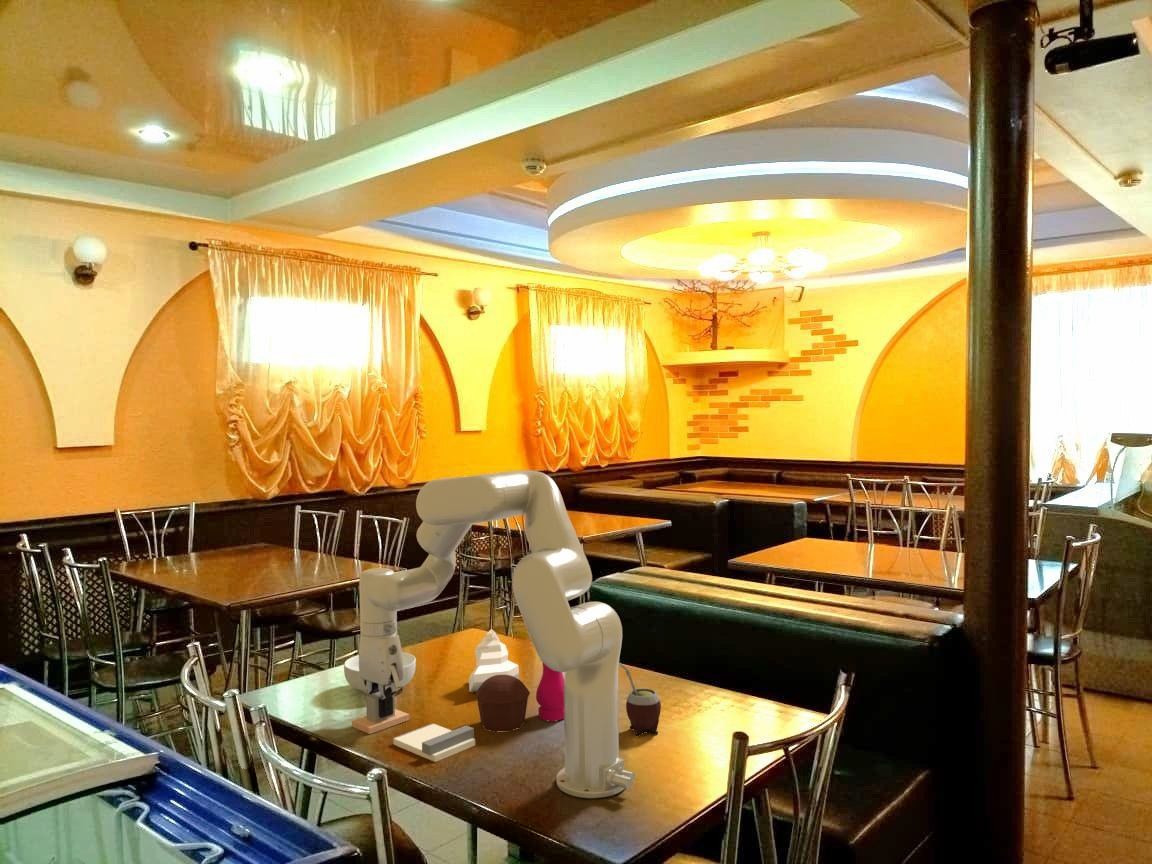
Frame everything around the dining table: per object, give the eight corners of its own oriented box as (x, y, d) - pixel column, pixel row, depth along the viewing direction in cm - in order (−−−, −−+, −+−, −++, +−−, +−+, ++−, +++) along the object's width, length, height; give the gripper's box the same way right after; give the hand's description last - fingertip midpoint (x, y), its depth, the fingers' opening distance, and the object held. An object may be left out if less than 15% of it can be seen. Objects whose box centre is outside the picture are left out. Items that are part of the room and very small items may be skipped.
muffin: (465, 723, 172) (464, 676, 172) (508, 710, 179) (507, 665, 179) (497, 740, 163) (496, 690, 163) (541, 725, 170) (540, 678, 170)
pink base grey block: (409, 719, 174) (408, 691, 174) (369, 734, 167) (369, 703, 167) (391, 712, 178) (390, 684, 178) (351, 726, 171) (351, 697, 171)
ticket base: (477, 744, 161) (477, 729, 161) (433, 762, 152) (432, 747, 152) (434, 728, 169) (434, 714, 169) (390, 745, 161) (390, 730, 161)
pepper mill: (565, 723, 171) (564, 628, 171) (532, 721, 172) (530, 627, 172) (572, 711, 178) (571, 620, 178) (540, 709, 179) (539, 619, 179)
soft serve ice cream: (451, 693, 195) (448, 632, 199) (506, 686, 204) (502, 628, 207) (474, 694, 185) (471, 630, 189) (531, 686, 194) (527, 625, 197)
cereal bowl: (400, 703, 185) (400, 672, 185) (332, 700, 187) (331, 670, 187) (426, 679, 202) (425, 651, 201) (362, 677, 204) (362, 649, 204)
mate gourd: (667, 729, 167) (665, 656, 167) (648, 742, 160) (647, 666, 160) (635, 722, 171) (634, 651, 171) (616, 734, 165) (615, 661, 164)
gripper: (417, 630, 170) (419, 717, 170) (371, 618, 180) (373, 700, 181) (387, 638, 164) (389, 728, 164) (341, 625, 175) (343, 710, 175)
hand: (380, 713), depth 173 cm, fingers closed on pink base grey block, 3 cm apart
